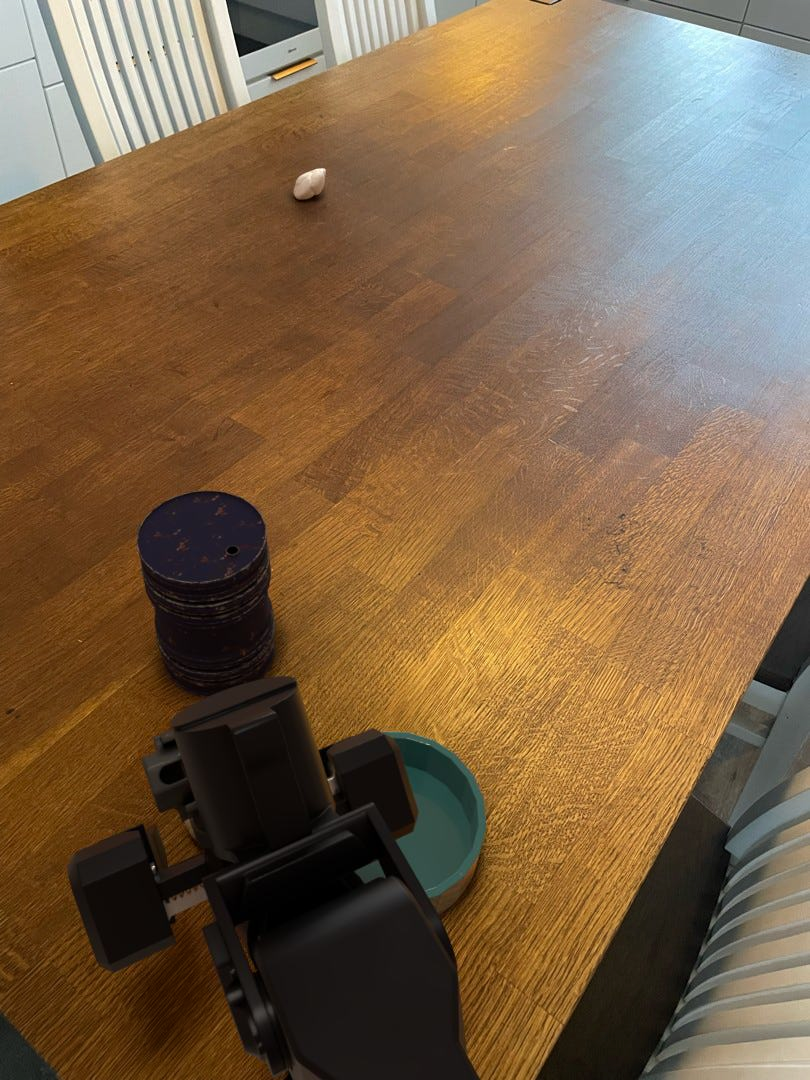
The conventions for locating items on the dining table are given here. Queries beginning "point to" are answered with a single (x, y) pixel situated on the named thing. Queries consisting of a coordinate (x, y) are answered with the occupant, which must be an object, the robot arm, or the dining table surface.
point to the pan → (439, 821)
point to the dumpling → (310, 184)
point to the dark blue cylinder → (209, 589)
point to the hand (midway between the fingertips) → (225, 801)
